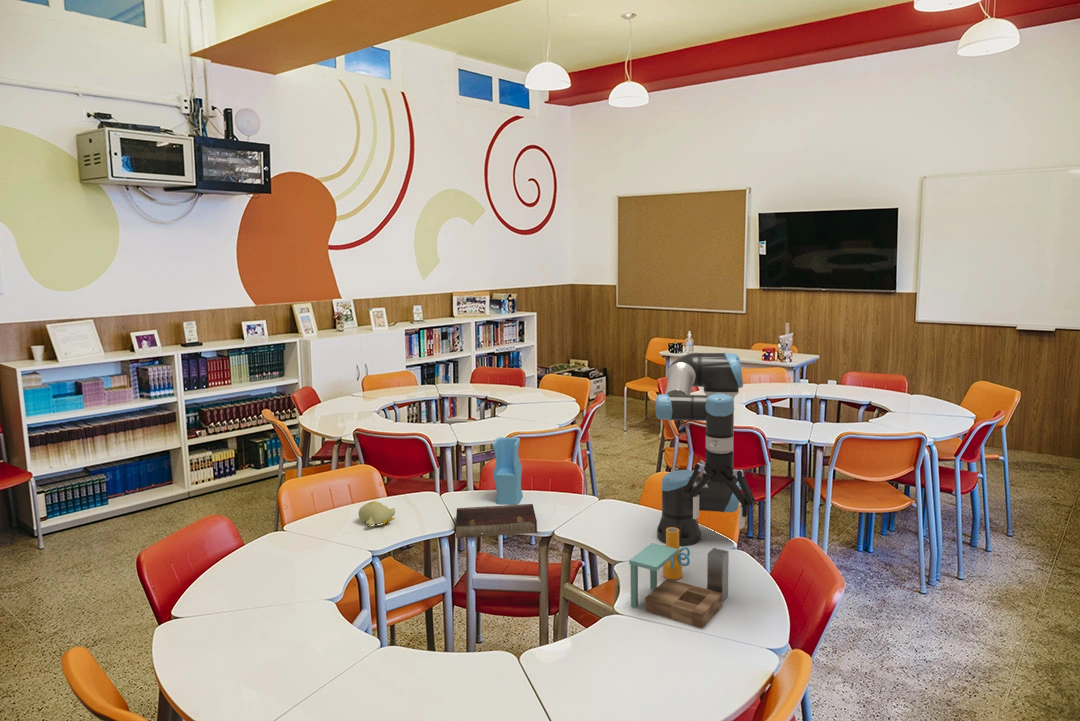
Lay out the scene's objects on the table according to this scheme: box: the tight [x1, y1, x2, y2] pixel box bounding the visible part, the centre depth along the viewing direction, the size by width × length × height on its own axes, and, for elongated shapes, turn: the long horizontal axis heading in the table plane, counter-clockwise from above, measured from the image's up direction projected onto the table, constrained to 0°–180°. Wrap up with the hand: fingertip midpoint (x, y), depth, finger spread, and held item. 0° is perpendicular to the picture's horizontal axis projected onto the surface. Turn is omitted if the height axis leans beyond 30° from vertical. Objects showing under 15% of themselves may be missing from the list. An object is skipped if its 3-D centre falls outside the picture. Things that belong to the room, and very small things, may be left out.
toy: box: [358, 500, 396, 527], centre depth 274 cm, size 15×9×15 cm
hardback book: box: [455, 503, 538, 539], centre depth 268 cm, size 29×19×5 cm, turn 95°
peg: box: [706, 547, 730, 604], centre depth 208 cm, size 4×4×14 cm
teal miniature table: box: [628, 542, 678, 608], centre depth 208 cm, size 14×8×14 cm, turn 144°
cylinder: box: [662, 527, 691, 581], centre depth 223 cm, size 12×10×15 cm
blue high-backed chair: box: [492, 436, 524, 505], centre depth 292 cm, size 10×10×25 cm
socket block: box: [644, 578, 723, 629], centre depth 204 cm, size 14×17×4 cm
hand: (718, 522), depth 206 cm, fingers open, 13 cm apart
